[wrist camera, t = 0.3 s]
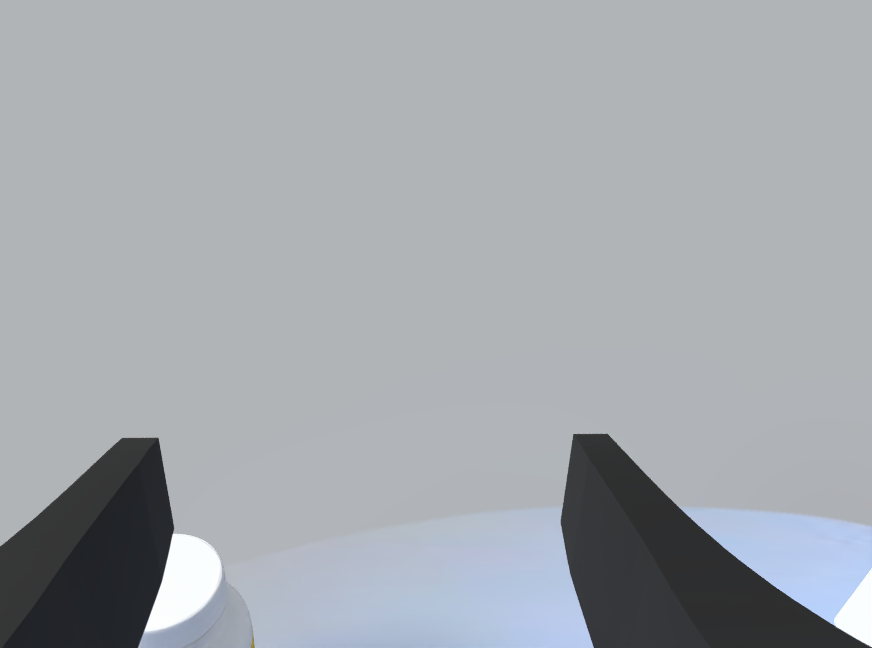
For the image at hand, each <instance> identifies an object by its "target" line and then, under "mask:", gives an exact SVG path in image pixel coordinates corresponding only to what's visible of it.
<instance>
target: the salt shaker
mask: <svg viewBox="0 0 872 648" xmlns="http://www.w3.org/2000/svg"><path fill="white" fill-rule="evenodd" d="M834 621H835V626H836V627H837V628H839V629H841V630H843V631H844V632H846V633H848V634H849V635H851V636H853V637H854V638H856V639H858V640H860V641H861V642H863V643H865V644H867V645H869V646H871V647H872V569H871V570H870V572H869V573H868V574H867V576H866V577H865V578H864V580H863V581H862V582H861V584H860V585H859V586H858V588H857V589H856V590H855V592H854V593H853V594H852V596H851V597H850V598H849V600H848V601H847V602H846V604H845V605H844V606H843V608H842V609H841V610H840V612H839V613H838V614H837V616H836V617H835V618H834Z"/></svg>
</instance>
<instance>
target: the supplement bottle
mask: <svg viewBox="0 0 872 648" xmlns="http://www.w3.org/2000/svg"><path fill="white" fill-rule="evenodd" d="M138 648H254V638H253V629H252V623H251V618H250V614H249V611H248V608H247V606H246V604H245V602H244V600H243V598H242V596H241V595H240V593H239V592H238V591H237V590H236V589H235V588H234V587H233V586H232V585H231V584H229V583H228V582H227V581H226V579H225V573H224V567H223V563H222V560H221V558H220V556H219V554H218V553H217V551H216V550H215V549H214V548H213V547H212V546H211V545H210V544H209V543H207V542H205V541H204V540H202V539H199V538H197V537H193V536H190V535H184V534H173V536H172V540H171V545H170V550H169V554H168V559H167V563H166V567H165V571H164V576H163V580H162V583H161V586H160V589H159V592H158V595H157V598H156V600H155V603H154V606H153V609H152V611H151V614H150V617H149V620H148V622H147V625H146V628H145V631H144V633H143V636H142V639H141V641H140V644H139V647H138Z"/></svg>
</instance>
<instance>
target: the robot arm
mask: <svg viewBox="0 0 872 648" xmlns="http://www.w3.org/2000/svg"><path fill="white" fill-rule="evenodd" d="M561 526H562V532H563V538H564V543H565V549H566V554H567V559H568V564H569V569H570V574H571V577H572V581H573V584H574V587H575V590H576V593H577V597H578V600H579V603H580V606H581V609H582V612H583V616H584V619H585V622H586V625H587V628H588V631H589V634H590V637H591V640H592V643H593V646H594V648H872V647H871V646H869V645H867V644H865V643H863V642H861V641H860V640H858V639H856V638H854V637H853V636H851V635H849V634H848V633H846V632H844V631H843V630H841V629H839V628H837V627H836V626H834V625H832V624H831V623H829V622H827V621H826V620H824V619H823V618H821V617H820V616H818V615H817V614H815V613H813V612H812V611H810V610H809V609H807V608H806V607H804V606H803V605H801V604H799V603H798V602H796V601H795V600H793V599H792V598H790V597H789V596H787V595H786V594H784V593H783V592H782V591H780V590H779V589H777V588H776V587H774V586H773V585H772V584H770V583H769V582H768V581H766V580H765V579H764V578H762V577H761V576H760V575H758V574H757V573H756V572H754V571H753V570H752V569H750V568H749V567H748V566H746V565H745V564H744V563H742V562H741V561H740V560H738V559H737V558H736V557H735V556H733V555H732V554H731V553H730V552H728V551H727V550H726V549H725V548H724V547H722V546H721V545H720V544H719V543H718V542H717V541H716V540H714V539H713V538H712V537H711V536H710V535H709V534H707V533H706V532H705V531H704V530H703V529H702V528H701V527H699V526H698V525H697V524H696V523H695V522H694V521H693V520H692V519H691V518H690V517H688V516H687V515H686V514H685V513H684V512H683V511H682V510H681V509H680V508H679V507H678V506H677V505H676V504H675V503H674V502H673V501H672V500H671V499H670V498H668V496H666V495H665V494H664V492H663V491H661V489H660V488H658V486H657V485H656V484H655V483H654V482H653V481H652V480H651V479H650V478H649V477H648V476H647V475H646V474H645V473H644V472H643V471H642V470H641V469H640V468H639V467H638V466H637V465H636V464H635V463H634V461H633V460H632V459H631V458H630V457H629V456H628V455H627V454H626V453H625V452H624V451H623V450H622V449H621V448H620V447H619V446H618V445H617V443H616V442H615V441H614V440H613V439H612V438H611V437H610V436H609V435H608V434H574V435H573V441H572V448H571V455H570V462H569V468H568V475H567V482H566V489H565V496H564V503H563V509H562V516H561ZM173 531H174V525H173V519H172V513H171V507H170V502H169V496H168V491H167V484H166V479H165V473H164V467H163V461H162V456H161V450H160V445H159V439H158V438H122V439H121V440H120V441H119V442H117V443H116V444H115V445H114V446H113V447H112V448H111V449H110V450H108V451H107V452H106V453H105V454H104V455H103V456H102V457H101V458H100V459H99V460H98V461H97V462H96V463H94V464H93V465H92V466H91V467H90V468H89V469H88V470H87V471H86V472H85V473H84V474H83V475H82V476H81V477H80V478H79V479H77V480H76V481H75V482H74V483H73V484H72V485H71V486H70V487H69V488H68V489H67V490H66V491H65V492H63V493H62V494H61V495H60V496H59V497H58V498H57V499H56V500H54V501H53V502H52V503H51V504H50V505H49V506H48V507H47V508H46V509H45V510H43V511H42V512H41V513H40V514H39V515H38V516H37V517H36V518H34V519H33V520H32V521H31V522H30V523H28V524H27V525H26V526H25V527H24V528H22V529H21V530H20V531H19V532H17V533H16V534H15V535H14V536H13V537H11V538H10V539H9V540H8V541H7V542H5V544H3V545H2V546H0V648H138V647H139V644H140V641H141V639H142V636H143V633H144V631H145V628H146V625H147V622H148V620H149V617H150V614H151V611H152V609H153V606H154V603H155V600H156V598H157V595H158V592H159V589H160V586H161V583H162V580H163V576H164V571H165V567H166V563H167V559H168V554H169V550H170V545H171V540H172V536H173Z"/></svg>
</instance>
